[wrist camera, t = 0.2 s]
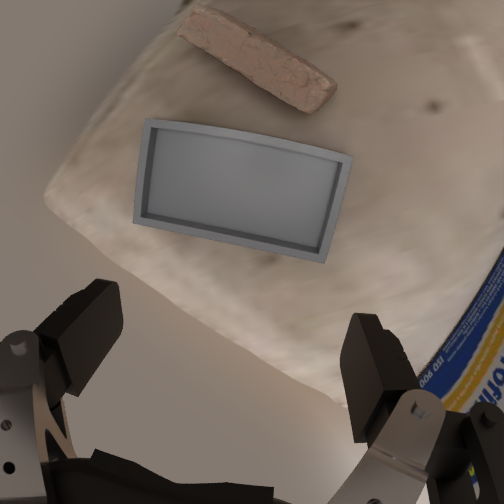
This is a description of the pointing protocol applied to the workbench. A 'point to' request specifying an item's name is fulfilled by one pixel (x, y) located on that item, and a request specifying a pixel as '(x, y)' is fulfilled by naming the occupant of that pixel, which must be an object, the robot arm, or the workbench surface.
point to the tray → (239, 188)
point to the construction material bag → (473, 355)
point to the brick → (258, 58)
